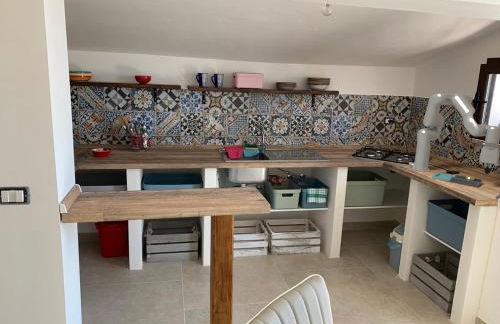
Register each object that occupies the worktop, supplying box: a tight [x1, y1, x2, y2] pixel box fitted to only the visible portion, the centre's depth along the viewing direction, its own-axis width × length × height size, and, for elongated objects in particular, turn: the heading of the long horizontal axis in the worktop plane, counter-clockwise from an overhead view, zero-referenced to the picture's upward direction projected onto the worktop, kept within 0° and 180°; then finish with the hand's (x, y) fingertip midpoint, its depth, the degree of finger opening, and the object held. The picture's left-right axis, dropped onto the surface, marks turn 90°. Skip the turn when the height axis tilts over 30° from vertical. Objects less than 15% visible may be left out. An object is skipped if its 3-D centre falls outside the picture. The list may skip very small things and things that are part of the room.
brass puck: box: [465, 175, 476, 181], centre depth 252 cm, size 5×5×2 cm
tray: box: [431, 172, 455, 183], centre depth 263 cm, size 12×14×2 cm
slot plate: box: [449, 174, 483, 188], centre depth 254 cm, size 16×14×3 cm
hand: (486, 173), depth 245 cm, fingers closed
